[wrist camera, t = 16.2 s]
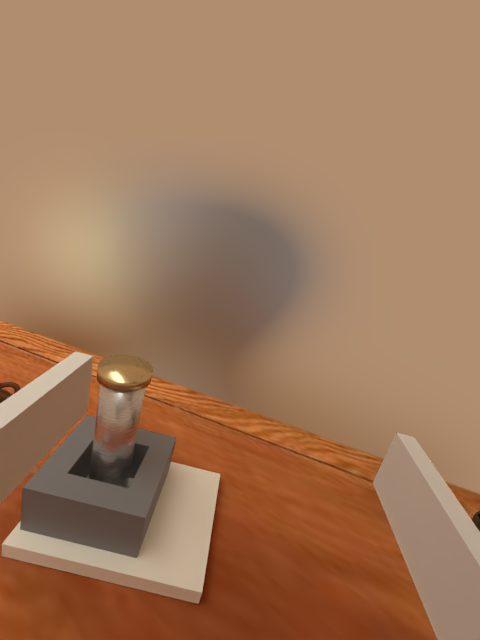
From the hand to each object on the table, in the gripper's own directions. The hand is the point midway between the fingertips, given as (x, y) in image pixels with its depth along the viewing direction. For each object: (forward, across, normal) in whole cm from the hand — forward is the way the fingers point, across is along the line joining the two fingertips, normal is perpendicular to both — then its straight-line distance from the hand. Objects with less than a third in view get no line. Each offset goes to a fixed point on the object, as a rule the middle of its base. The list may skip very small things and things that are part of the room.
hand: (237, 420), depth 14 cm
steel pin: (+15, -10, -23) cm, 29 cm away
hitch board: (+15, -7, -25) cm, 30 cm away
